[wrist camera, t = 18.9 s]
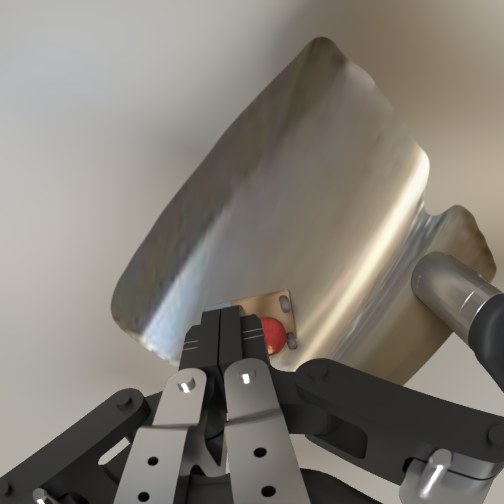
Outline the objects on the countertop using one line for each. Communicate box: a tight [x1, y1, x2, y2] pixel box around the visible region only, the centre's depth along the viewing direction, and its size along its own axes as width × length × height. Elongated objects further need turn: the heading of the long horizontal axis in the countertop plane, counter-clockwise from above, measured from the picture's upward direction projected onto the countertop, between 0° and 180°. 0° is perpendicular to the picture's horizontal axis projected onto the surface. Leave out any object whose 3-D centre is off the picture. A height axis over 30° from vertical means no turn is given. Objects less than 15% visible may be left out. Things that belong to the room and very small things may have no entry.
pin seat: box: [231, 289, 297, 350], centre depth 47 cm, size 13×9×4 cm
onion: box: [260, 317, 286, 356], centre depth 44 cm, size 6×6×8 cm
